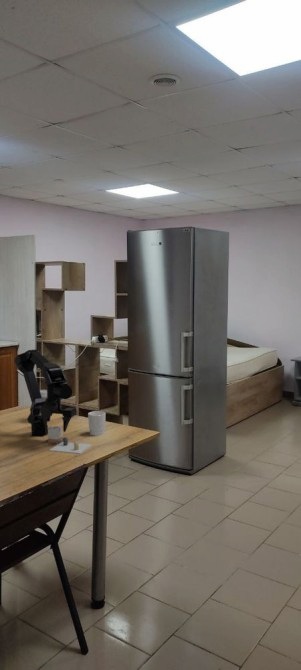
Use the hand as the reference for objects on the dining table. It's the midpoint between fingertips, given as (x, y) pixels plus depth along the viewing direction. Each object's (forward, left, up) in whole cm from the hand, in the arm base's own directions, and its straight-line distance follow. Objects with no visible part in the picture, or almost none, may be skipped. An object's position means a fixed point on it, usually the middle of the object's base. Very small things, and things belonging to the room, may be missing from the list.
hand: (54, 430), depth 218 cm
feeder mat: (0, 0, -5) cm, 5 cm away
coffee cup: (-23, +30, -5) cm, 38 cm away
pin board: (+11, -7, -5) cm, 14 cm away
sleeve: (0, 0, -4) cm, 4 cm away
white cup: (+13, +15, -5) cm, 21 cm away
